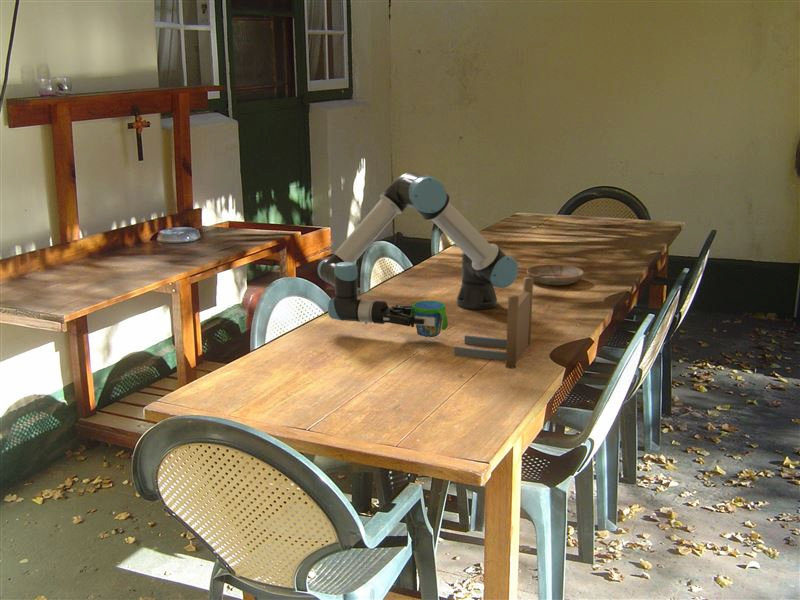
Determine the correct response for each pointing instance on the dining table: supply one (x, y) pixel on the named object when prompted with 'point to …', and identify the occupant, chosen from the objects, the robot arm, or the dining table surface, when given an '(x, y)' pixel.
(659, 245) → the dining table surface
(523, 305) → the headboard cradle
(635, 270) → the dining table surface
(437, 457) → the dining table surface
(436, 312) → the snack cup
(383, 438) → the dining table surface
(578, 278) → the ceramic bowl
